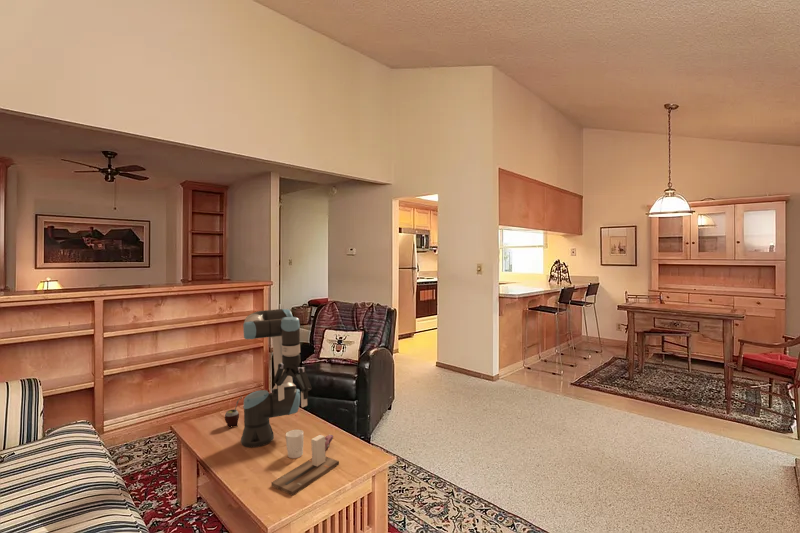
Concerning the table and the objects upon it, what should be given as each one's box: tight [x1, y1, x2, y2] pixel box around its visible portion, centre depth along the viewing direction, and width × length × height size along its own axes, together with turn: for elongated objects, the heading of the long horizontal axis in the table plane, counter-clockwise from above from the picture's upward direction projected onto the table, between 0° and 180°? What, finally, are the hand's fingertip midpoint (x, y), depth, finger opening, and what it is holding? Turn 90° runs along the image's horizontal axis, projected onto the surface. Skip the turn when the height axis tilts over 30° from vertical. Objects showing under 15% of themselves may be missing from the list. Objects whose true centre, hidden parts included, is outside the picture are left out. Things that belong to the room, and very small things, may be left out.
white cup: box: [285, 429, 304, 459], centre depth 183 cm, size 8×8×10 cm
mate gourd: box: [224, 396, 243, 428], centre depth 216 cm, size 8×8×15 cm
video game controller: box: [325, 433, 334, 451], centre depth 189 cm, size 10×5×7 cm, turn 170°
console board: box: [271, 455, 340, 497], centre depth 166 cm, size 12×26×2 cm, turn 146°
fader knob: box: [310, 434, 326, 466], centre depth 172 cm, size 3×5×11 cm, turn 146°
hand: (292, 403), depth 172 cm, fingers open, 13 cm apart
